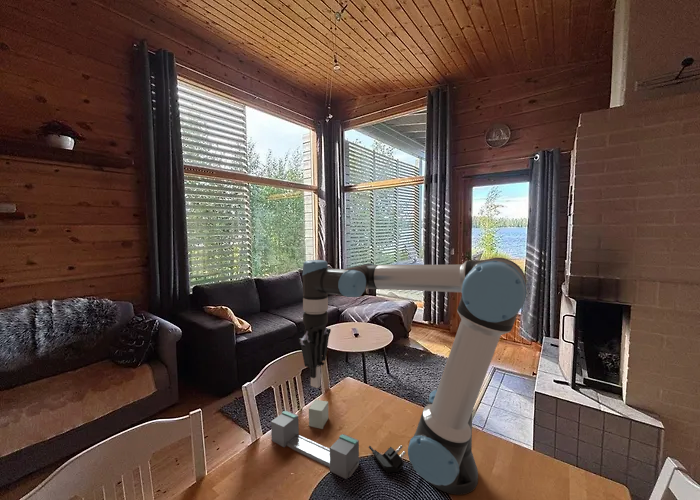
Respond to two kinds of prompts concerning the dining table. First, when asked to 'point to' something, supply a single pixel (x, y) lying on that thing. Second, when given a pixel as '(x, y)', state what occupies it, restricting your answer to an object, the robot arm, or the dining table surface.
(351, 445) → the block
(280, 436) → the block
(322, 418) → the block
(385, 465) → the power plug
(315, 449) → the rail
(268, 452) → the dining table surface
